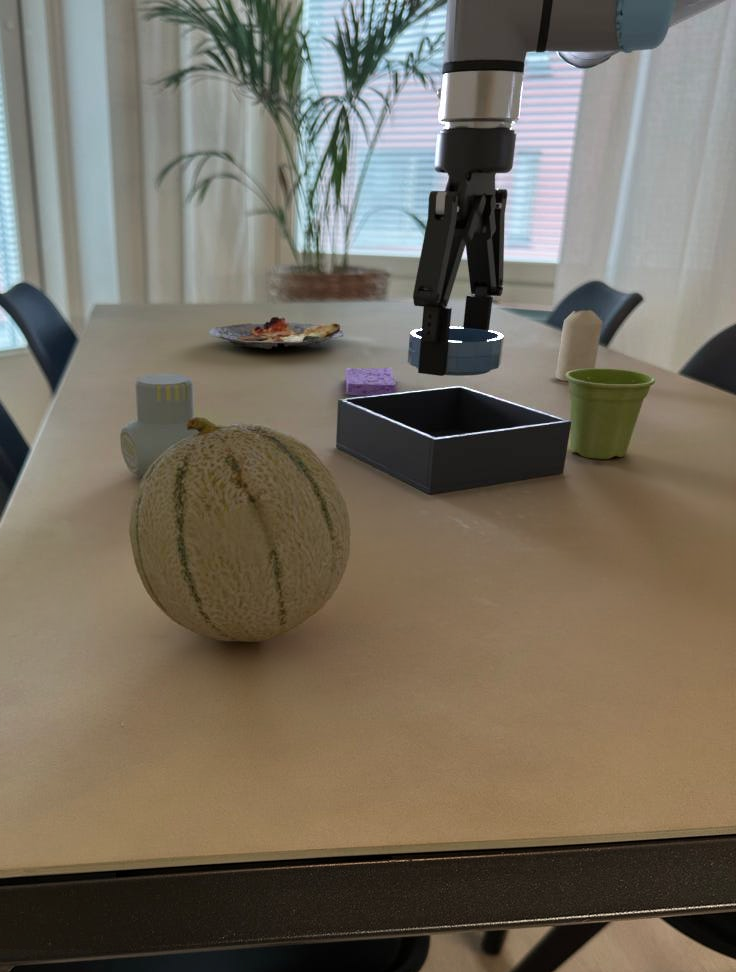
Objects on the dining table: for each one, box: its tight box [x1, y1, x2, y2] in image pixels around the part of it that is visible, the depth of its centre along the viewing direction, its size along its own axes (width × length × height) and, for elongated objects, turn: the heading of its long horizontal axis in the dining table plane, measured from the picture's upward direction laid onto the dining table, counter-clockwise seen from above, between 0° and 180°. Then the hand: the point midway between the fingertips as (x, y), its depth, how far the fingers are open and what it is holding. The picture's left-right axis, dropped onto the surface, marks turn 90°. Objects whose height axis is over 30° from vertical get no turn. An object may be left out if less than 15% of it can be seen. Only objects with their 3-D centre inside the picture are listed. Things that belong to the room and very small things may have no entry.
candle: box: [555, 309, 603, 382], centre depth 139 cm, size 6×6×10 cm
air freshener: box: [119, 373, 199, 479], centre depth 95 cm, size 11×8×10 cm
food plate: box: [207, 316, 344, 350], centre depth 168 cm, size 25×23×4 cm
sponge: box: [345, 367, 397, 397], centre depth 135 cm, size 7×13×2 cm, turn 176°
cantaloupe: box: [128, 416, 351, 643], centre depth 61 cm, size 15×15×15 cm
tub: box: [335, 385, 571, 495], centre depth 101 cm, size 19×17×6 cm
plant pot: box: [566, 367, 656, 460], centre depth 103 cm, size 9×9×9 cm
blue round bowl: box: [407, 326, 505, 377], centre depth 97 cm, size 10×10×4 cm
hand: (452, 365), depth 97 cm, fingers closed on blue round bowl, 10 cm apart
